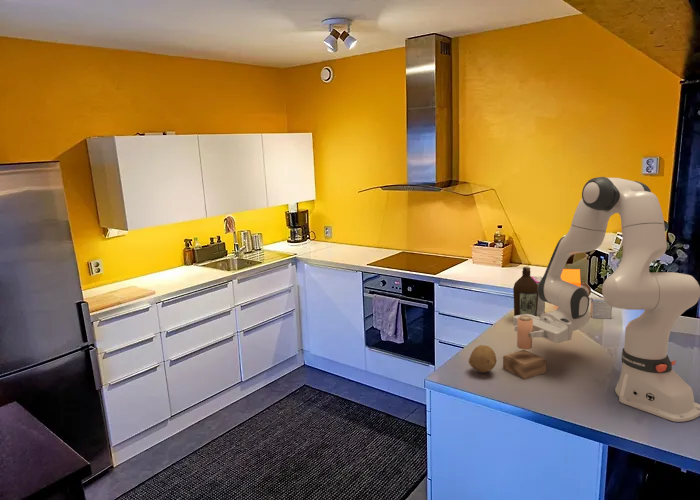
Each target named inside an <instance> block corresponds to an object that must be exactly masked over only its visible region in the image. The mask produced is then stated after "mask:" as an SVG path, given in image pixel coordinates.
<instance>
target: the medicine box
mask: <svg viewBox="0 0 700 500" xmlns="http://www.w3.org/2000/svg"><path fill="white" fill-rule="evenodd" d="M589 313H590V317H591V318H592V319H604V320H605V319H607V320H611V319H612V313H613V307H611V306H610V305H609V304H608V303H607V302H606V301H605V299H604V297H590V311H589Z"/></svg>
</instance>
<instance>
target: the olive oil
mask: <svg viewBox="0 0 700 500" xmlns="http://www.w3.org/2000/svg"><path fill="white" fill-rule="evenodd" d="M521 273H522V274H521V277H520V278H518V279H517V280H516V281H515V283H514V284H513V288H512V289H513V290H512V291H513V317H514V316H516V315H522V314H531V315H534V316H536V317H538V316H537V304H538V290H537V288H538V285H537V283H536V282H535V281H534V280H533V279H532V278H531V276H532V275H531V267H529V266H523V267H522V271H521Z"/></svg>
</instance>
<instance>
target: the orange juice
mask: <svg viewBox="0 0 700 500" xmlns="http://www.w3.org/2000/svg"><path fill="white" fill-rule="evenodd" d="M561 279H562V280H564V281H566V282H569V283H571V284H574V285H577V286H579V287H580V284H581V283H580V282H581V269H580V268H576V269H574V268H564V269H563V271H562V274H561ZM556 308H558V306H556Z"/></svg>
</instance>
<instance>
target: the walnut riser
mask: <svg viewBox="0 0 700 500" xmlns="http://www.w3.org/2000/svg"><path fill="white" fill-rule="evenodd" d="M502 369H504V370H505V371H507V372H510V373H511V374H513V375H515V376H517V377H519V378H521V379H523V380H527V379H529V378H532V377H536V376H539V375H541V374H545V373H546V372H547V359H545V358H544V357H542V356H539V355H537V354H535V353H533V352H530V351H528V350H527V349H521V350H519V351H515V352H512V353H511V352H510V353H508V354H505V355H503V358H502Z"/></svg>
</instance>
